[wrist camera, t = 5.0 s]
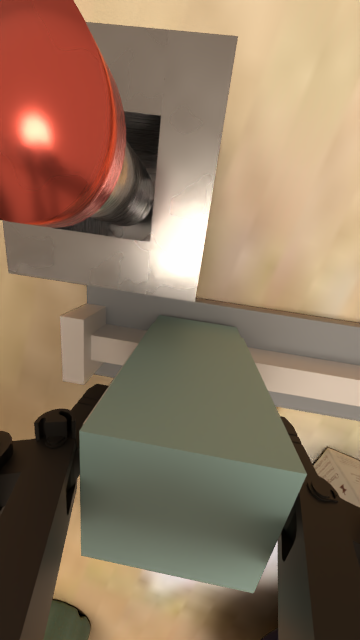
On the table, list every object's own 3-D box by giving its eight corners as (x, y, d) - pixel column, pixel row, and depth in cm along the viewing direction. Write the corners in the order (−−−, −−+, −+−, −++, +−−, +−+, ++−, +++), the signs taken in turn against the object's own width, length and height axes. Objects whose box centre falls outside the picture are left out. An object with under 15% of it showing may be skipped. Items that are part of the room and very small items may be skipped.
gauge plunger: (81, 232, 12) (-79, 209, 5) (81, 135, 11) (-141, -74, 4) (160, 243, 12) (102, 235, 5) (170, 146, 10) (108, -57, 3)
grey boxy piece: (90, 263, 18) (8, 273, 10) (90, 131, 15) (-21, 12, 8) (197, 279, 18) (194, 302, 10) (219, 146, 15) (237, 36, 7)
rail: (94, 364, 21) (63, 398, 16) (95, 282, 18) (59, 293, 14) (372, 412, 20) (426, 464, 15) (414, 331, 17) (495, 362, 12)
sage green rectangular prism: (152, 374, 19) (81, 555, 8) (159, 312, 17) (79, 430, 6) (222, 386, 18) (253, 593, 7) (237, 324, 16) (306, 474, 6)
